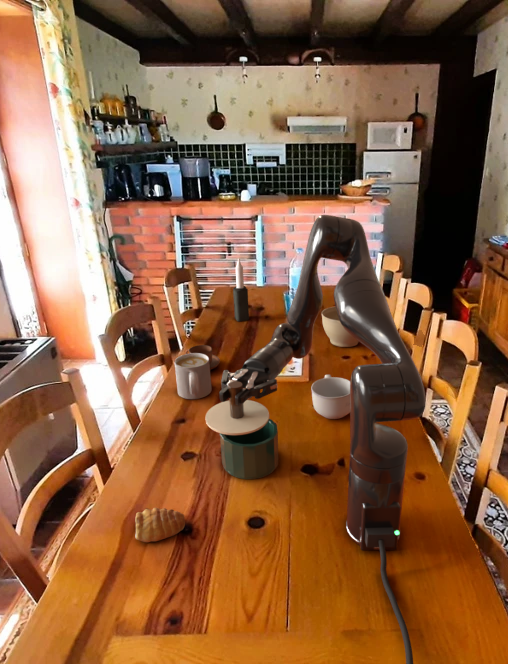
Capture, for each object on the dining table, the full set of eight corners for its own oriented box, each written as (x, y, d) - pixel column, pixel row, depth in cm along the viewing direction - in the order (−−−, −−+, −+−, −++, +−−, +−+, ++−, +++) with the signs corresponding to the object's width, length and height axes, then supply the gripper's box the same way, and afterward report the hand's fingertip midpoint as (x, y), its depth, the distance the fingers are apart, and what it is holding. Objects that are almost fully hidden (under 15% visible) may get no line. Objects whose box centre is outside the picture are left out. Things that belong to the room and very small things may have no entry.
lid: (271, 436, 98) (269, 399, 95) (203, 439, 99) (200, 402, 95) (267, 402, 111) (266, 368, 108) (207, 404, 111) (204, 371, 108)
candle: (234, 318, 199) (230, 257, 189) (245, 316, 200) (242, 256, 191) (237, 321, 194) (234, 260, 185) (249, 319, 196) (247, 258, 186)
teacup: (354, 425, 120) (355, 397, 117) (310, 422, 123) (310, 395, 120) (352, 398, 133) (353, 371, 130) (312, 396, 135) (312, 370, 132)
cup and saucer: (178, 374, 153) (176, 356, 151) (190, 358, 164) (188, 341, 162) (214, 376, 150) (213, 358, 148) (224, 360, 161) (223, 342, 159)
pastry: (183, 512, 95) (181, 497, 94) (187, 538, 89) (185, 522, 88) (135, 521, 94) (132, 505, 92) (136, 547, 88) (133, 531, 86)
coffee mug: (181, 382, 147) (178, 353, 143) (213, 383, 146) (211, 352, 142) (171, 405, 135) (167, 373, 131) (206, 405, 134) (203, 373, 130)
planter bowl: (371, 352, 160) (372, 321, 156) (321, 351, 163) (322, 321, 159) (366, 333, 175) (367, 305, 171) (320, 333, 178) (321, 305, 173)
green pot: (280, 478, 103) (279, 445, 100) (221, 480, 104) (218, 447, 101) (276, 444, 115) (275, 413, 112) (223, 446, 115) (221, 415, 112)
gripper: (237, 347, 116) (199, 377, 102) (292, 356, 109) (259, 389, 95) (239, 375, 118) (201, 408, 105) (292, 385, 112) (260, 422, 98)
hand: (229, 399), depth 100 cm, fingers closed on lid, 3 cm apart
